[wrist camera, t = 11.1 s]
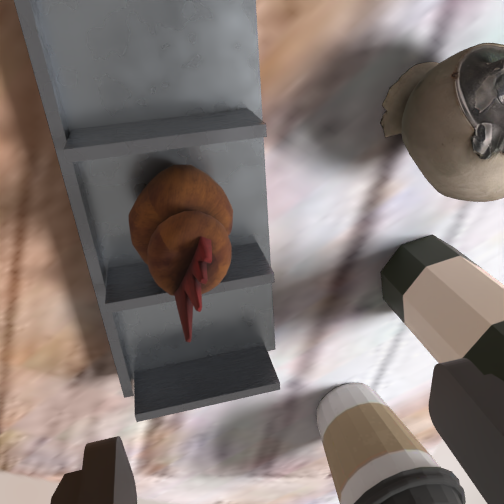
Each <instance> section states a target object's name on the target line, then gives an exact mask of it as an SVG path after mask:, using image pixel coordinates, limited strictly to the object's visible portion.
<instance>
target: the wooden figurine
mask: <svg viewBox="0 0 504 504" xmlns="http://www.w3.org/2000/svg"><path fill="white" fill-rule="evenodd" d="M232 226H233V209H232V206H231V204H230V202H229V200H228V198H227V196H226V194H225V192H224V190H223V189H222V188H221V186H220V185H219V184H217V183H216V182H215V181H214V180H213V179H212V178H211V177H210V176H209V175H207V174H206V173H205V172H203V171H201V170H199V169H198V168H196V167H194V166H192V165H172V166H170V167H168V168H167V169H165V170H163V171H161V172H160V173H158V174H157V175H156V176H155V177H154V178H153V179H152V180H151V181H150V182H149V183H148V184H147V186H146V187H145V188H144V189H143V190H142V192H141V193H140V194H139V196H138V197H137V199H136V201H135V203H134V205H133V207H132V209H131V211H130V213H129V227H130V235H131V240H132V245H133V246H134V248H135V249H136V250H137V252H138V253H139V255H140V256H141V258H142V259H143V261H144V262H145V263H146V264H147V265H148V268H149V272H150V273H151V275H152V277H153V279H154V280H155V282H156V284H157V285H158V286H159V287H160V288H162V289H163V290H164V291H166V292H167V293H168V294H169V295H172V296H175V300H176V305H177V309H178V313H179V317H180V321H181V325H182V329H183V333H184V337H185V341H186V342H189V343H190V341H191V338H192V319H193V306H194V308H195V310H196V311H198V312H201V310H202V294H204V293H206V292H209V291H210V290H212V289H213V288H215V287H216V286H217V285H219V283H220V282H221V281H222V279H223V278H224V277H225V275H226V274H227V271H228V269H229V266H230V263H231V248H232V246H231V242H230V239H229V235H230V233H231V230H232Z"/></svg>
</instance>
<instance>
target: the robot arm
mask: <svg viewBox="0 0 504 504" xmlns="http://www.w3.org/2000/svg"><path fill="white" fill-rule="evenodd" d="M429 413H430V417H431V420H432V422H433V425H434V426H435V428H436V430H437V431H438V433H439V434H440V436H441V437H442V439H443V440H444V441H445V443H446V444H447V446H448V447H449V449H450V450H451V452H452V453H453V454H454V456H455V457H456V459H457V460H458V462H459V463H460V465H461V466H462V467H463V469H464V470H465V472H466V473H467V474H468V476H469V478H470V479H471V480H472V482H473V483H474V485H475V486H476V488H477V489H478V491H479V492H480V493H481V495H482V496H483V498H484V499H485V501H486V502H487V503H488V504H504V381H503V380H501V379H500V378H498V377H496V376H494V375H493V374H487V375H483V374H482V372H481V371H480V370H479V369H478V368H477V367H476V366H475V365H474V364H473V363H472V362H471V361H470V360H469V359H467V358H461V359H456V360H452V361H448V362H443V363H439V364H436V365H435V367H434V371H433V378H432V385H431V392H430V399H429ZM51 504H137V494H136V486H135V480H134V476H133V473H132V470H131V467H130V464H129V461H128V458H127V455H126V452H125V449H124V446H123V443H122V440H121V438H120V437H119V436H118V437H113V438H109V439H105V440H100V441H96V442H92V443H88V444H86V446H85V450H84V458H83V466H82V470H79V471H75V472H71V473H67V474H64V476H63V478H62V480H61V482H60V483H59V485H58V487H57V489H56V491H55V493H54V494H53V496H52V498H51Z"/></svg>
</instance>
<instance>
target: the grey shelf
mask: <svg viewBox="0 0 504 504" xmlns="http://www.w3.org/2000/svg"><path fill="white" fill-rule="evenodd" d="M14 3H15V6H16V10H17V13H18V17H19V21H20V24H21V28H22V31H23V35H24V39H25V42H26V46H27V49H28V53H29V57H30V60H31V64H32V67H33V71H34V75H35V78H36V82H37V85H38V89H39V93H40V96H41V100H42V103H43V107H44V111H45V114H46V118H47V121H48V125H49V129H50V132H51V136H52V139H53V143H54V146H55V150H56V154H57V157H58V161H59V164H60V168H61V172H62V175H63V179H64V182H65V186H66V190H67V193H68V197H69V200H70V204H71V208H72V211H73V215H74V218H75V222H76V226H77V229H78V233H79V236H80V240H81V244H82V247H83V251H84V254H85V258H86V262H87V265H88V269H89V272H90V276H91V280H92V283H93V287H94V290H95V294H96V298H97V301H98V305H99V308H100V312H101V316H102V319H103V323H104V326H105V330H106V334H107V337H108V341H109V344H110V348H111V351H112V355H113V359H114V362H115V366H116V369H117V373H118V377H119V380H120V384H121V387H122V391H123V395H124V398H125V397H130V396H134V394H135V417H136V421H137V422H139V421H143V420H148V419H152V418H157V417H161V416H165V415H170V414H174V413H179V412H183V411H187V410H192V409H196V408H201V407H205V406H209V405H214V404H218V403H222V402H227V401H231V400H236V399H240V398H244V397H249V396H253V395H258V394H262V393H266V392H271V391H275V390H280V382H279V380H278V377H277V375H276V372H275V370H274V367H273V365H272V362H271V360H270V357H269V355H268V352H267V351H270V350H275V334H274V316H273V299H272V283H274V272H273V271H272V269H271V263H270V246H269V228H268V210H267V192H266V175H265V157H264V139H263V137H267V134H266V124H265V123H264V122H263V121H262V104H261V86H260V68H259V51H258V33H257V15H256V0H14ZM172 165H192V166H194V167H196V168H198V169H199V170H201V171H203V172H205V173H206V174H207V175H209V176H210V177H211V178H212V179H213V180H214V181H215V182H216V183H217V184H219V185H220V186H221V188H222V189H223V190H224V192H225V194H226V196H227V198H228V200H229V202H230V204H231V206H232V209H233V226H232V230H231V233H230V235H229V239H230V242H231V246H232V248H231V263H230V266H229V269H228V271H227V274H226V275H225V277H224V278H223V279H222V281H221V282H220V283H219V285H217V286H216V287H215V288H213V289H212V290H210V291H209V292H206V293H204V294H202V310H201V312H198V311H196V310H195V308H194V306H193V319H192V338H191V341H190V343H189V342H186V341H185V337H184V333H183V329H182V325H181V321H180V317H179V313H178V309H177V305H176V300H175V296H172V295H169V294H168V293H167V292H166V291H164V290H163V289H162V288H160V287H159V286H158V285H157V284H156V282H155V280H154V279H153V277H152V275H151V273H150V272H149V268H148V265H147V264H146V263H145V262H144V261H143V259H142V258H141V256H140V255H139V253H138V252H137V250H136V249H135V248H134V246H133V245H132V240H131V235H130V227H129V213H130V211H131V209H132V207H133V205H134V203H135V201H136V199H137V197H138V196H139V194H140V193H141V192H142V190H143V189H144V188H145V187H146V186H147V184H148V183H149V182H150V181H151V180H152V179H153V178H154V177H155V176H156V175H157V174H158V173H160V172H161V171H163V170H165V169H167V168H168V167H170V166H172Z"/></svg>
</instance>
